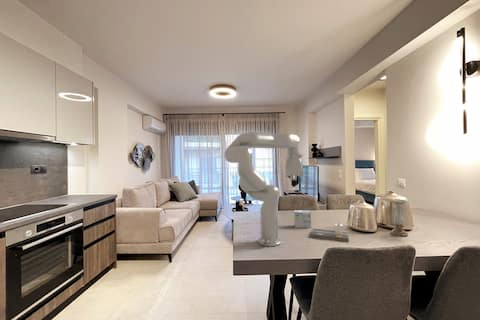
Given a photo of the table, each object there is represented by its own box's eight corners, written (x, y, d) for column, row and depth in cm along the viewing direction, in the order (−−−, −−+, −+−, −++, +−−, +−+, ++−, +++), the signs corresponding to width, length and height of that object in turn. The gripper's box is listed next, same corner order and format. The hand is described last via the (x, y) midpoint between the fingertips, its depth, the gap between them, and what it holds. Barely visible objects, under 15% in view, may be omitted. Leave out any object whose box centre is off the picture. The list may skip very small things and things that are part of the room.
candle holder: (387, 233, 139) (386, 200, 139) (395, 231, 143) (394, 198, 143) (402, 237, 131) (402, 202, 131) (411, 235, 135) (410, 200, 135)
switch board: (348, 242, 125) (348, 236, 125) (310, 237, 133) (310, 232, 133) (348, 235, 136) (348, 230, 136) (313, 231, 144) (313, 226, 144)
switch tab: (342, 235, 130) (342, 225, 130) (335, 234, 131) (335, 224, 131) (342, 233, 133) (342, 223, 133) (335, 232, 135) (335, 222, 135)
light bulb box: (309, 225, 158) (309, 210, 158) (311, 228, 151) (311, 212, 152) (293, 225, 159) (293, 209, 159) (295, 228, 152) (295, 211, 153)
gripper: (307, 156, 141) (307, 186, 140) (283, 157, 147) (283, 185, 146) (305, 156, 134) (305, 187, 134) (280, 157, 140) (280, 186, 140)
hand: (294, 186), depth 140 cm, fingers closed
